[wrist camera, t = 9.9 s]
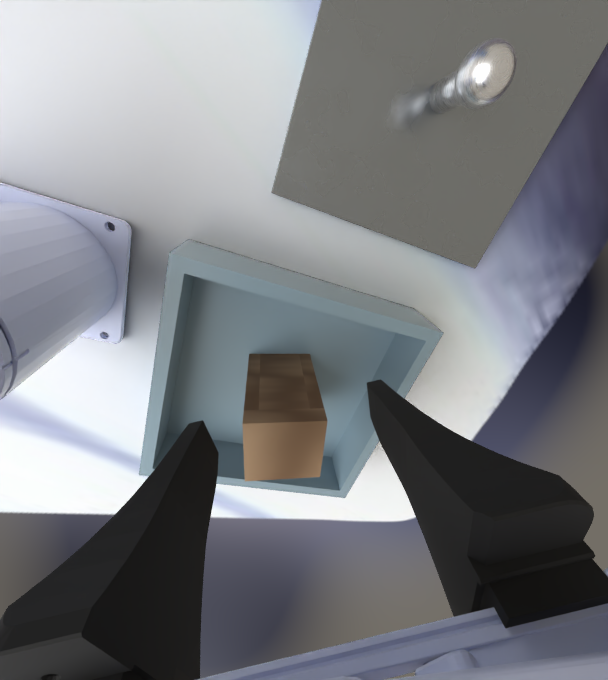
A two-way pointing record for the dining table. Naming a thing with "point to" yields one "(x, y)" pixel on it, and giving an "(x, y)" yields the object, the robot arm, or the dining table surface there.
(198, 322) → the bin
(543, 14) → the stud base
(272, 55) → the dining table surface
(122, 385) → the dining table surface
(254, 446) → the brown wooden block
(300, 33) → the dining table surface
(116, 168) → the dining table surface
